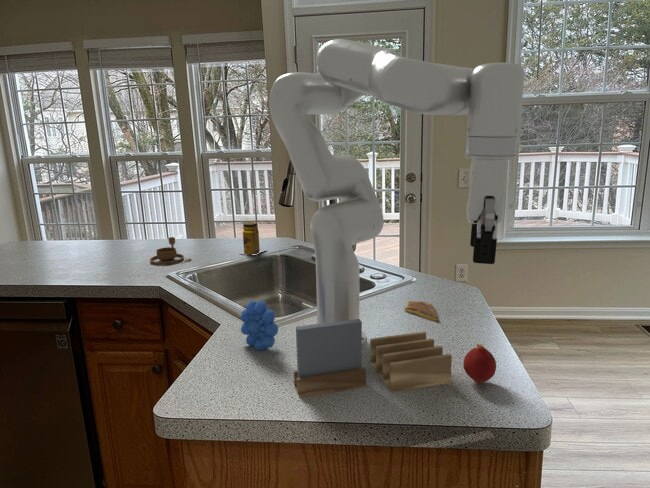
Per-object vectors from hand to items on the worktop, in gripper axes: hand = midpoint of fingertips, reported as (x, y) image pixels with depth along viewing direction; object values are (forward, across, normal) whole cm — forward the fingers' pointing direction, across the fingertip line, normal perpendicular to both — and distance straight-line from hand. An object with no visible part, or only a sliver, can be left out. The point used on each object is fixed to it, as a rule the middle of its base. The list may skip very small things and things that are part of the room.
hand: (481, 254), depth 76 cm
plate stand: (+27, +3, -25) cm, 37 cm away
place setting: (+30, -71, -104) cm, 130 cm away
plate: (+26, +3, -25) cm, 36 cm away
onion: (+27, -5, +2) cm, 28 cm away
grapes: (+28, -9, -43) cm, 52 cm away
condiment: (+29, -84, -77) cm, 118 cm away
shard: (+28, -38, -9) cm, 48 cm away
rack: (+27, -5, -11) cm, 30 cm away
